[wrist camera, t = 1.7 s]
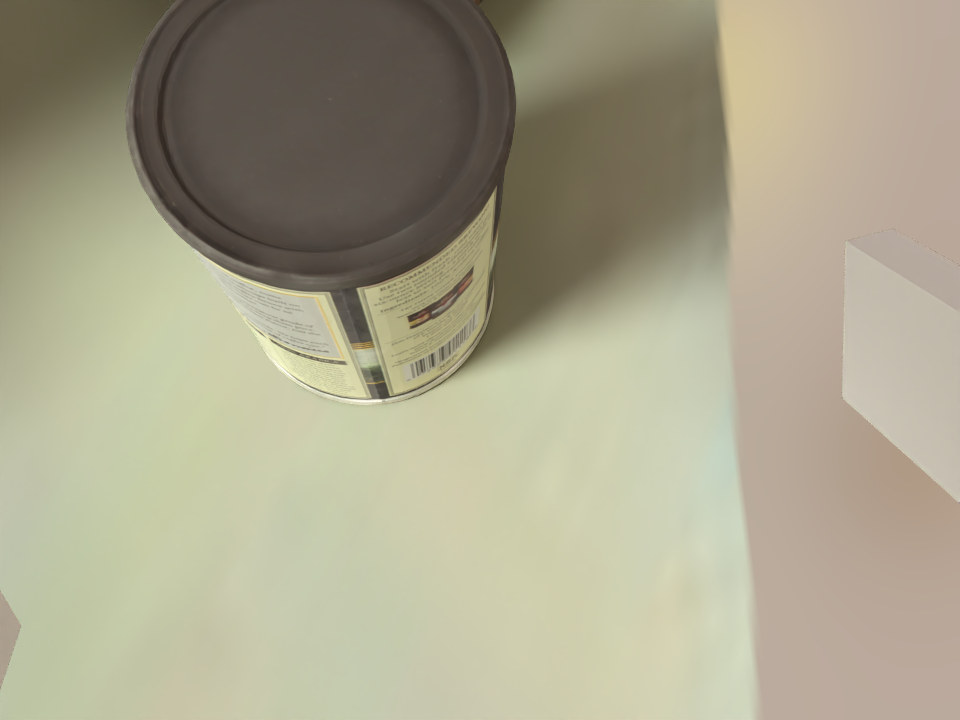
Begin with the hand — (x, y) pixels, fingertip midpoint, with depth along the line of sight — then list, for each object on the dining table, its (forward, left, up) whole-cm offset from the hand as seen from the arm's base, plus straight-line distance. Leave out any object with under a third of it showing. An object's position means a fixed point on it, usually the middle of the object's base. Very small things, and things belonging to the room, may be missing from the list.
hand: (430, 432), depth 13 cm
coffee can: (-9, +7, -23) cm, 25 cm away
